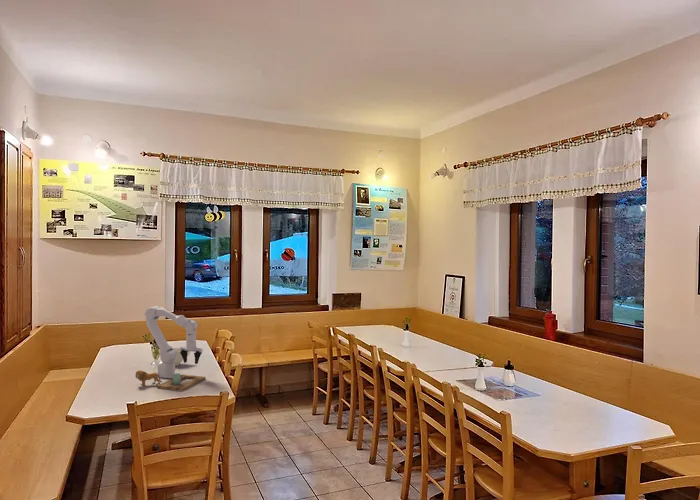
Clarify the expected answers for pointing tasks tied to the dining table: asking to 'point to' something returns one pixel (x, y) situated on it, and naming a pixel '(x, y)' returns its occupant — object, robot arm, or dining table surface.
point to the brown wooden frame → (184, 385)
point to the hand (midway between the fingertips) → (190, 363)
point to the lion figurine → (147, 377)
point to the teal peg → (176, 379)
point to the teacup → (179, 356)
